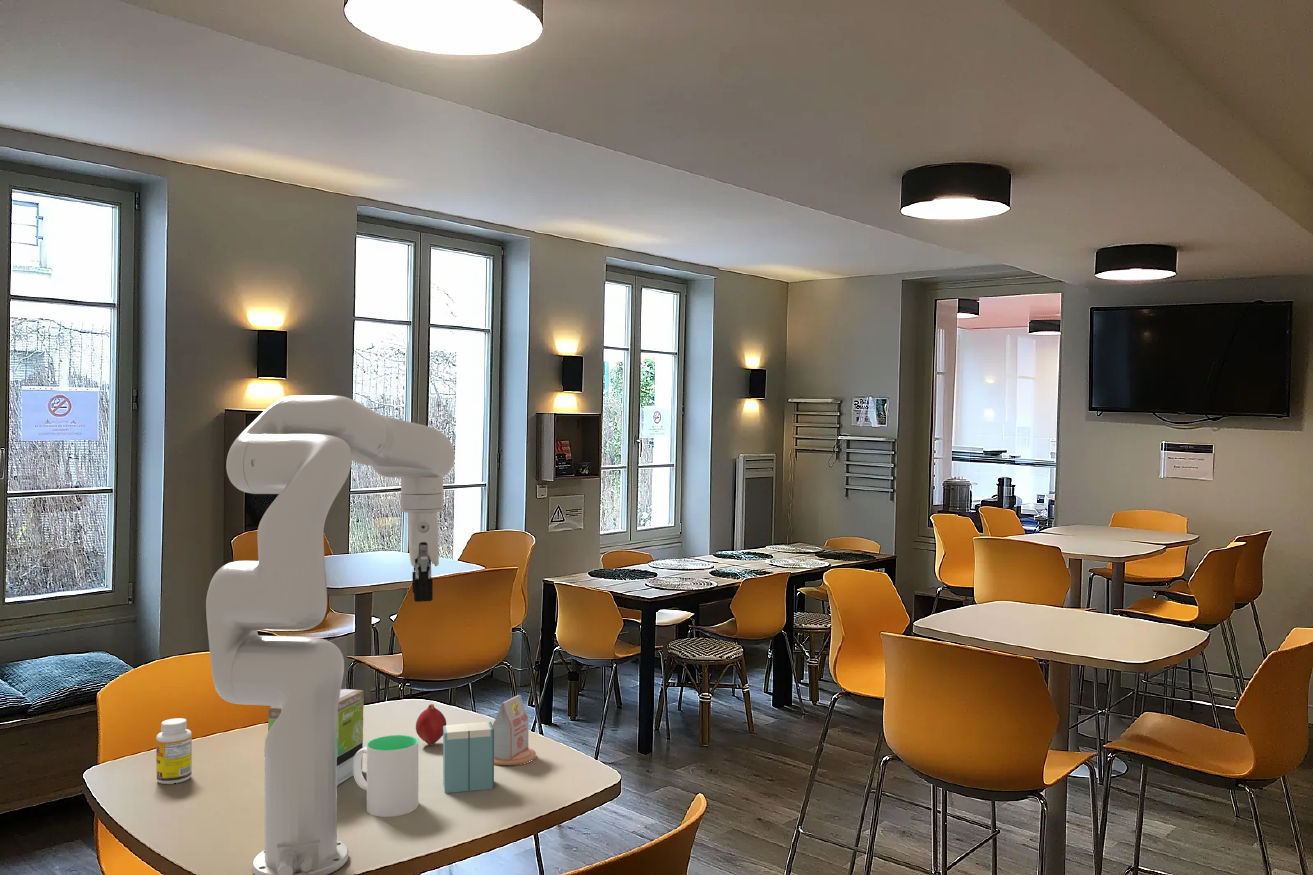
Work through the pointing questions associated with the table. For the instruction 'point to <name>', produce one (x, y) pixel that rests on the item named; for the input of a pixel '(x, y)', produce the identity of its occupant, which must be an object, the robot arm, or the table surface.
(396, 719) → the table surface
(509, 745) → the white gable carton
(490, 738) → the teal and cream box
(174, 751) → the supplement bottle
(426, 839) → the table surface
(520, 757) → the saucer
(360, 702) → the tea box
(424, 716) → the onion
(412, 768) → the mug
